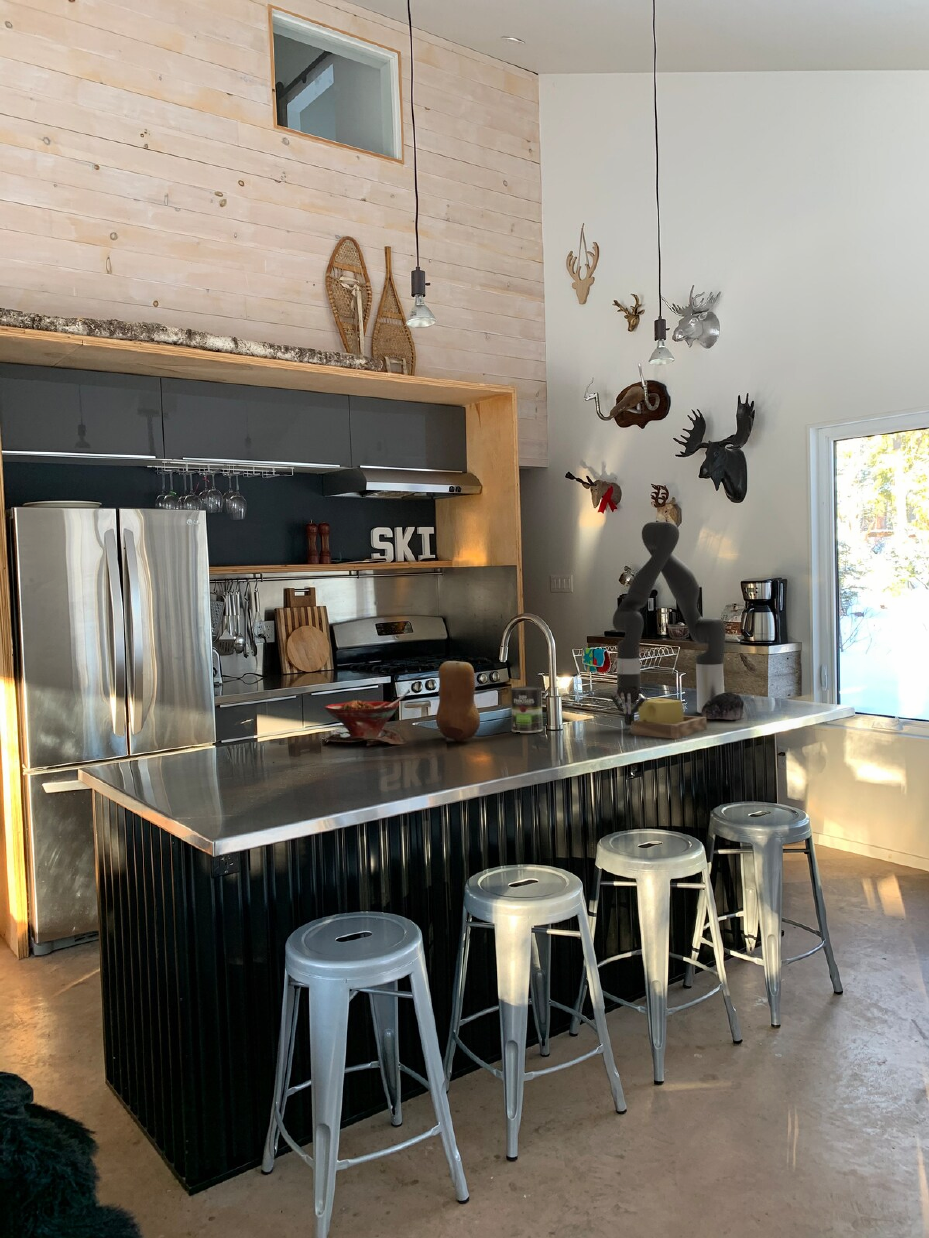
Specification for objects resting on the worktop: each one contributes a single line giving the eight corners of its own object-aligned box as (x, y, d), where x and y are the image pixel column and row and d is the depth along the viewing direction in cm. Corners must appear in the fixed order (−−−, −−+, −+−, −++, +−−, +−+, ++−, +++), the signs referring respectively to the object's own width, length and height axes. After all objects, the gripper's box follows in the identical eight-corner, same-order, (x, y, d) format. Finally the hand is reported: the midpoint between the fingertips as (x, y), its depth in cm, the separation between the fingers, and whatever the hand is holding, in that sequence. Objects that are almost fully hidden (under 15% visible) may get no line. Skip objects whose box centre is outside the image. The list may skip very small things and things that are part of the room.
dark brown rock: (694, 719, 325) (693, 690, 325) (728, 716, 330) (727, 687, 329) (716, 725, 313) (716, 694, 312) (751, 721, 317) (751, 691, 317)
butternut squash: (482, 735, 306) (479, 658, 305) (478, 743, 293) (476, 662, 292) (439, 736, 308) (436, 659, 306) (434, 744, 294) (431, 663, 293)
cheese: (637, 730, 305) (636, 699, 305) (663, 727, 310) (663, 696, 310) (658, 735, 296) (657, 703, 296) (685, 731, 301) (684, 700, 301)
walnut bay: (661, 725, 314) (661, 713, 314) (706, 729, 303) (706, 717, 303) (631, 734, 300) (630, 721, 299) (677, 738, 289) (676, 725, 289)
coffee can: (539, 733, 307) (538, 689, 307) (508, 733, 310) (506, 689, 310) (546, 728, 317) (544, 686, 316) (515, 728, 320) (514, 686, 319)
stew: (413, 734, 314) (411, 686, 313) (409, 747, 290) (407, 695, 289) (327, 737, 314) (325, 689, 313) (317, 750, 290) (315, 698, 289)
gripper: (652, 672, 308) (653, 725, 309) (617, 670, 317) (618, 722, 318) (640, 674, 303) (640, 728, 303) (605, 672, 312) (605, 724, 312)
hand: (629, 725), depth 311 cm, fingers closed
